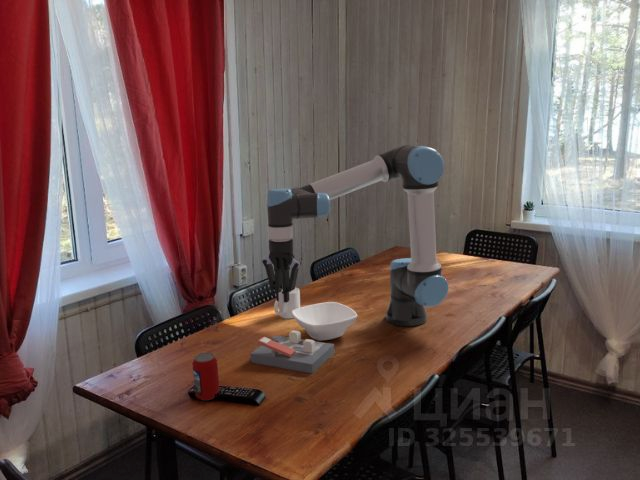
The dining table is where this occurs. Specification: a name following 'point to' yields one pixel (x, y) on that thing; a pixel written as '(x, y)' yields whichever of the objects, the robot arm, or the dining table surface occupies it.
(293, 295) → the mug
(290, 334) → the slider
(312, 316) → the bowl
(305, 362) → the panel
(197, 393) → the beverage can
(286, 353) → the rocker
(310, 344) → the slider
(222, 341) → the dining table surface
